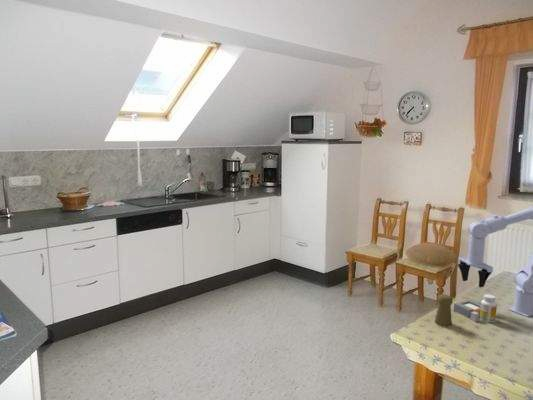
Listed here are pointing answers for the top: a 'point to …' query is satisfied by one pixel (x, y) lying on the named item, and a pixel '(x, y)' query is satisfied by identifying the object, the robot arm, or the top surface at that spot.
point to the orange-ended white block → (474, 307)
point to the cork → (444, 311)
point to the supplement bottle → (488, 308)
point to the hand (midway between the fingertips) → (473, 283)
